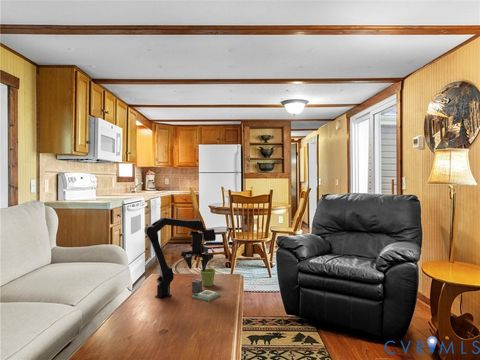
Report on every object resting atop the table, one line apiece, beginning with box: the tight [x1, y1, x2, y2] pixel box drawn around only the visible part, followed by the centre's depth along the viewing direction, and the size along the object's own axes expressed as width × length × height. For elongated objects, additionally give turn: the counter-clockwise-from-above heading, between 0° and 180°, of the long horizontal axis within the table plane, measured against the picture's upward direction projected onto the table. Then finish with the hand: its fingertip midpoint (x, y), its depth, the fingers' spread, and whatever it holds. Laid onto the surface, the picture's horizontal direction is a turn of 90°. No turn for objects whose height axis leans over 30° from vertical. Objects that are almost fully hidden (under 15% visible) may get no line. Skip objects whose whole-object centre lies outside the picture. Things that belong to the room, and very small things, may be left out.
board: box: [191, 289, 220, 302], centre depth 187 cm, size 10×11×2 cm
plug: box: [191, 278, 203, 294], centre depth 195 cm, size 4×4×6 cm
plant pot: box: [199, 268, 217, 287], centre depth 207 cm, size 9×9×9 cm
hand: (196, 270), depth 195 cm, fingers open, 9 cm apart
